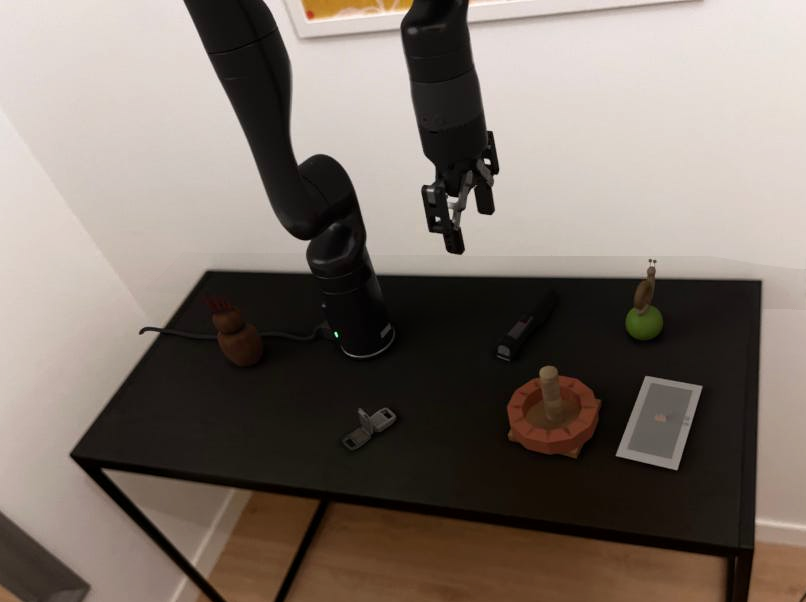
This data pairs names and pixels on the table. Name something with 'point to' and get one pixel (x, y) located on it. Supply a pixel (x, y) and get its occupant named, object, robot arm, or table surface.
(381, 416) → the strap clip
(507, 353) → the electric trimmer
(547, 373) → the stand
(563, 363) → the table surface
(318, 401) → the table surface
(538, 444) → the ring
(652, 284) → the snail figurine
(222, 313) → the wooden figurine
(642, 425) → the touchpad
